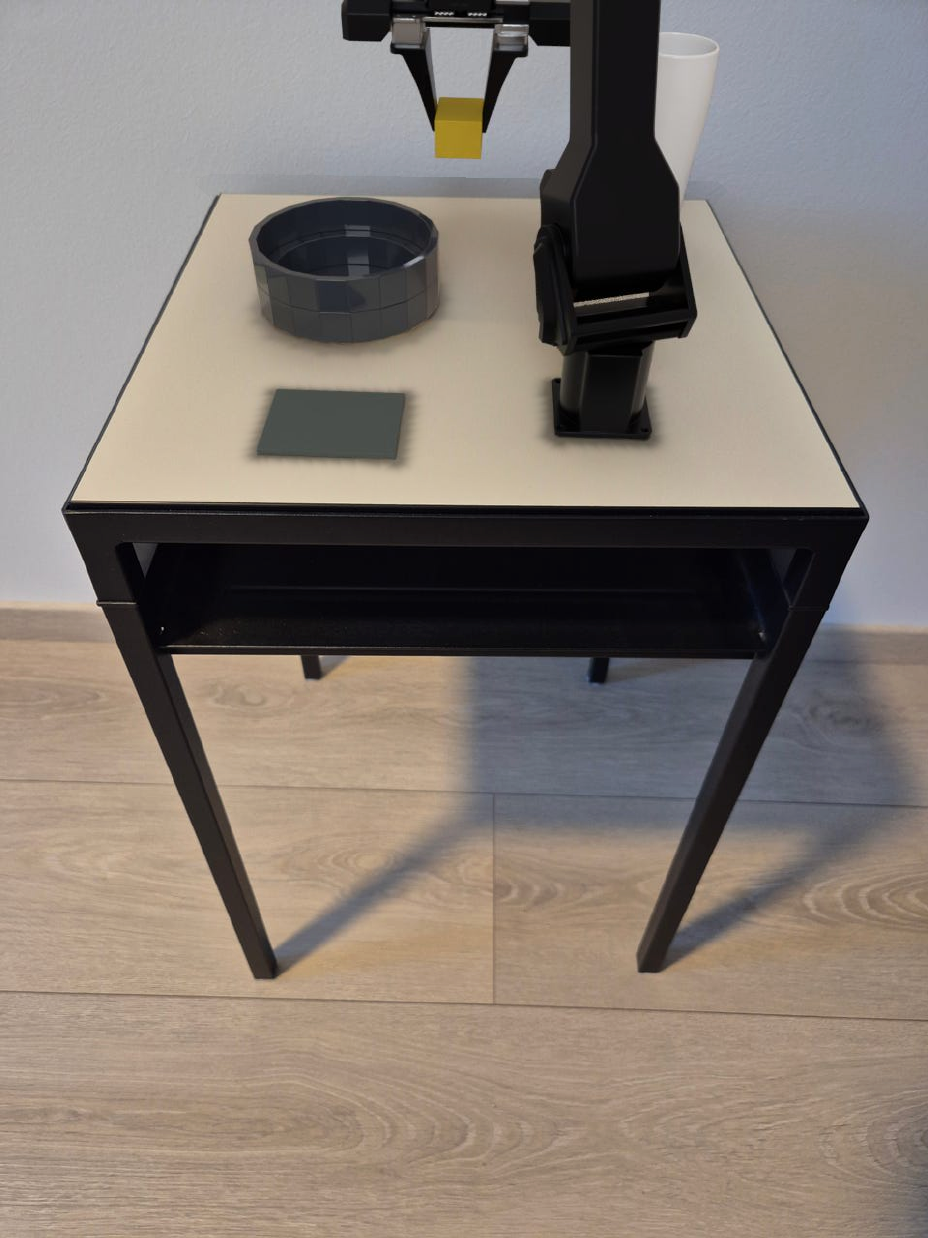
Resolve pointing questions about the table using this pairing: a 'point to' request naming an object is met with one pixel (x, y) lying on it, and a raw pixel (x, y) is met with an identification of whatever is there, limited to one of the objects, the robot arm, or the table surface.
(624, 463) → the table surface
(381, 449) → the mat
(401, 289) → the bowl
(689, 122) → the white cup
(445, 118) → the sponge
